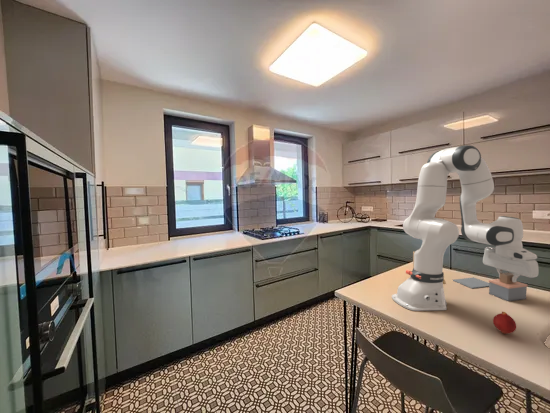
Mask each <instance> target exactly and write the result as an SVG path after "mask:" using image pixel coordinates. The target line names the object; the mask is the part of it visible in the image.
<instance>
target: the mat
mask: <svg viewBox="0 0 550 413" xmlns="http://www.w3.org/2000/svg"><path fill="white" fill-rule="evenodd" d="M452 280H453V281H452V282H455V283H457V284H459V283H460V285H461V286H465V287H467V288H470V289H472V290H473V289H481V288H489V281H485V280H482V279H479V278H477V277H466V278H465V277H464V278H455V279H452Z"/></svg>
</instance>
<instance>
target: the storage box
mask: <svg viewBox="0 0 550 413" xmlns="http://www.w3.org/2000/svg"><path fill="white" fill-rule="evenodd" d="M488 283H489V287H488V294H489V295H491V296H493V295H494V297H497V298H499V299H501V300H503V301H506V302H514V301H521V300H527V289H528V286H527V287H519V288H511V289H508V288H505V287H502V286H500V285H497V284H494V283H491V282H489V281H488Z"/></svg>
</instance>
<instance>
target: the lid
mask: <svg viewBox="0 0 550 413" xmlns="http://www.w3.org/2000/svg"><path fill="white" fill-rule="evenodd" d="M513 276H514V275H513V273H512V272H509V271H507V272H503V273H500V278H496V279H495V278H494V279H493V278H492V279H488V283H489V282H491V283H494V284H497V285H500V286H502V287H505V288H508V289H511V288H519V287H527V288H528V284H527V283H523V282H519V281H517V282H511V281H510V278H512V277H513Z"/></svg>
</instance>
